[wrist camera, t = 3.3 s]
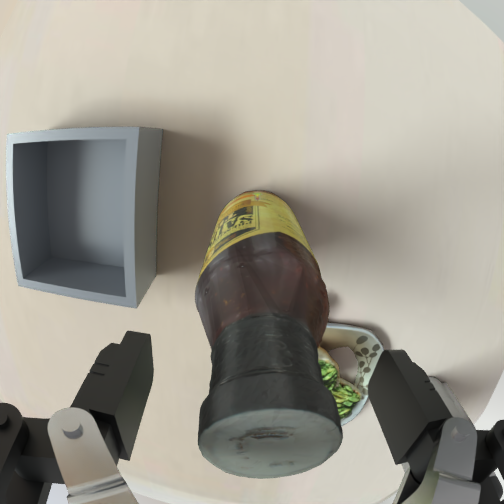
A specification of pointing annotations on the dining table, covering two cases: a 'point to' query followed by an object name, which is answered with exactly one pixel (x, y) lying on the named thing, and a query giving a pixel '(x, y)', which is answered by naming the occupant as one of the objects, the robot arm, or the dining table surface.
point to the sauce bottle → (264, 344)
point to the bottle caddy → (85, 211)
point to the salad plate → (367, 356)
